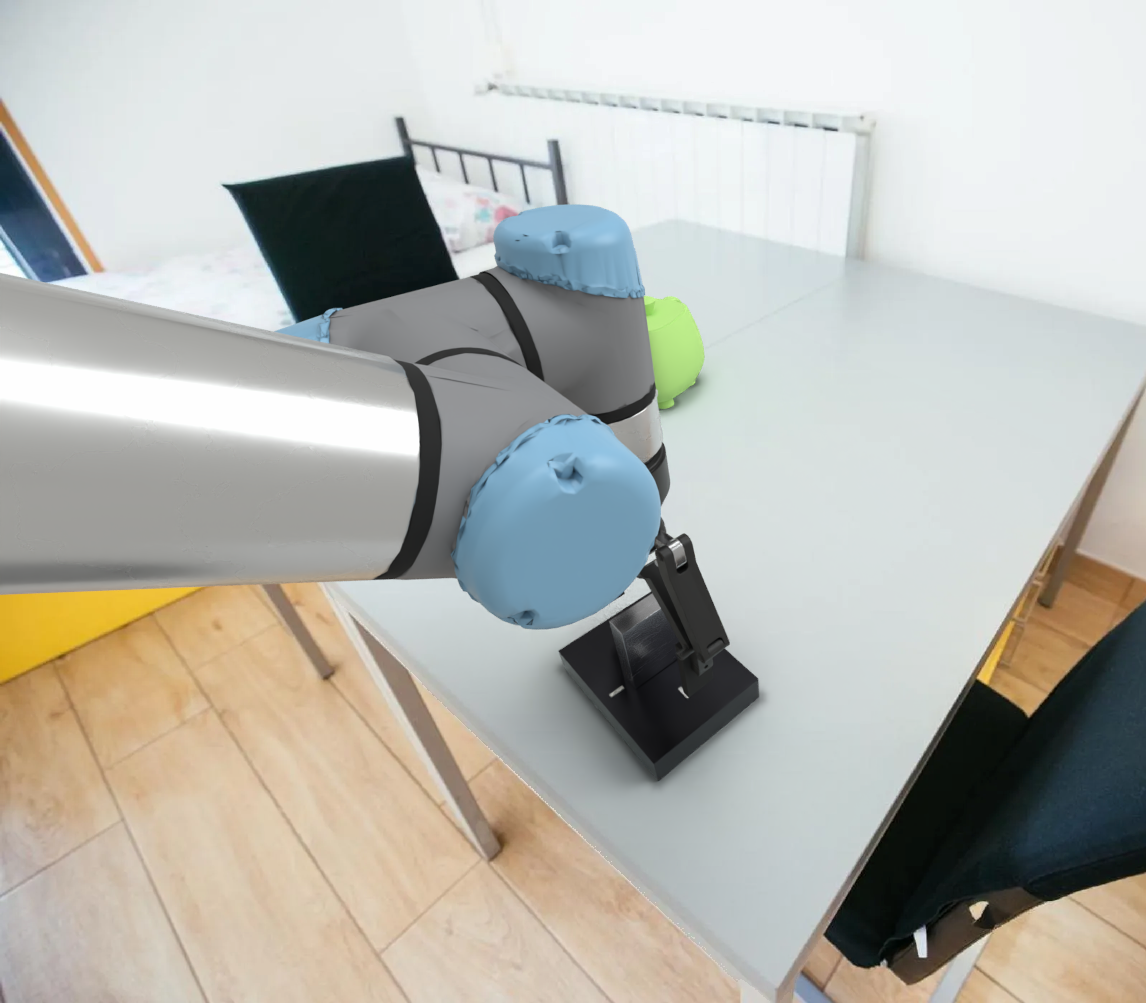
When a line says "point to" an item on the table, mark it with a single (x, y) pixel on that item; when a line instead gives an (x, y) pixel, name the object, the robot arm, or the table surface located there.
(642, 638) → the red-tipped metal bar
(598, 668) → the panel
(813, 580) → the table surface
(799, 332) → the table surface
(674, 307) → the teapot
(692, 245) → the table surface
